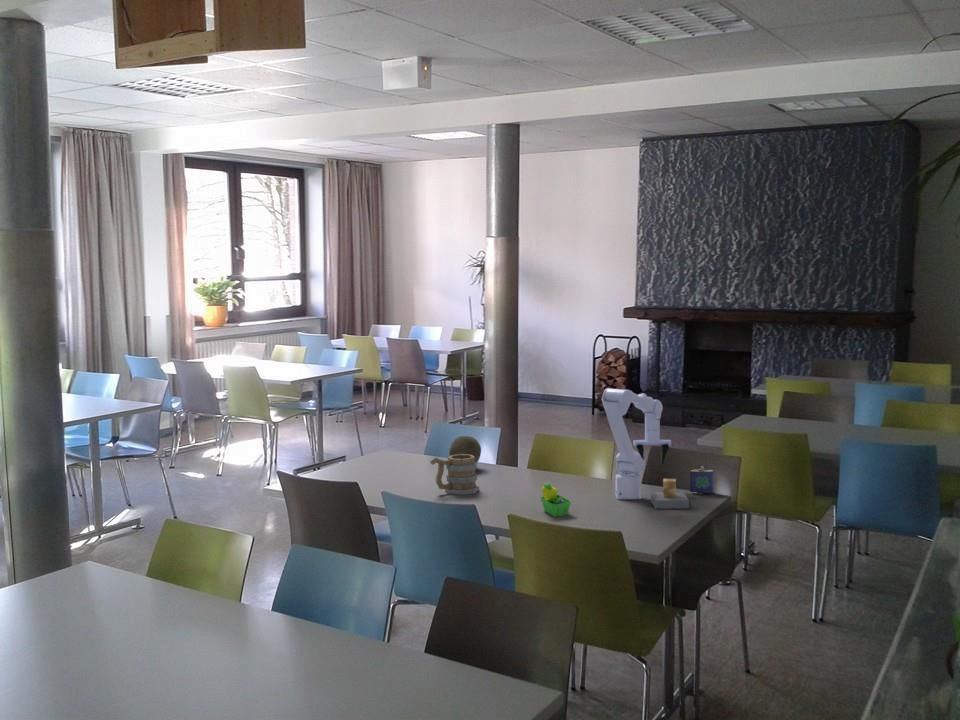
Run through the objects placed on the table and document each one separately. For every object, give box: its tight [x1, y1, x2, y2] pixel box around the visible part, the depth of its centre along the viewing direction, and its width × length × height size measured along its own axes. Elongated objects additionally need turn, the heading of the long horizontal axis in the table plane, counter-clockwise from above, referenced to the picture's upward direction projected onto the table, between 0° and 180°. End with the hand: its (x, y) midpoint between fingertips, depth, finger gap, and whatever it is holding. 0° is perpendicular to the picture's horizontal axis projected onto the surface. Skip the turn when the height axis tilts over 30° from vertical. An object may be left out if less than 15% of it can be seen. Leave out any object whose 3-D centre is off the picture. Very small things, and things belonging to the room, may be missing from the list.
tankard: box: [429, 454, 480, 496], centre depth 351 cm, size 20×13×15 cm, turn 115°
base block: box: [650, 491, 690, 509], centre depth 326 cm, size 12×12×3 cm
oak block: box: [662, 478, 677, 498], centre depth 326 cm, size 4×4×6 cm
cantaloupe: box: [448, 435, 482, 464], centre depth 392 cm, size 14×14×15 cm
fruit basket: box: [540, 482, 572, 517], centre depth 317 cm, size 11×9×11 cm
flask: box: [689, 465, 715, 495], centre depth 341 cm, size 9×3×11 cm, turn 87°
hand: (652, 463), depth 348 cm, fingers open, 7 cm apart
